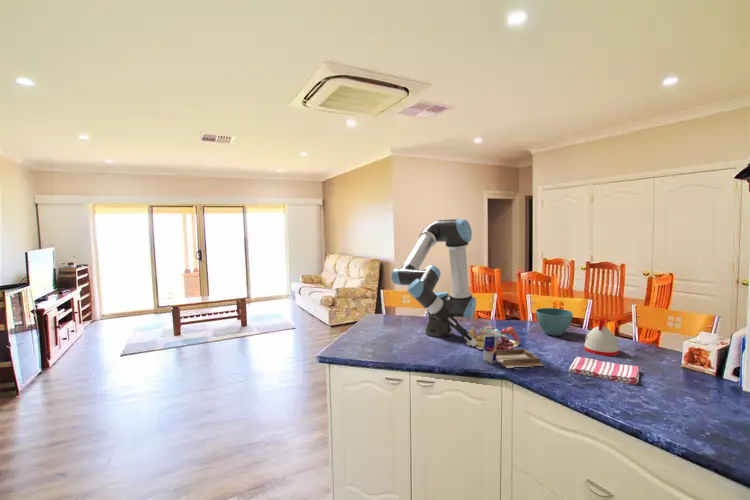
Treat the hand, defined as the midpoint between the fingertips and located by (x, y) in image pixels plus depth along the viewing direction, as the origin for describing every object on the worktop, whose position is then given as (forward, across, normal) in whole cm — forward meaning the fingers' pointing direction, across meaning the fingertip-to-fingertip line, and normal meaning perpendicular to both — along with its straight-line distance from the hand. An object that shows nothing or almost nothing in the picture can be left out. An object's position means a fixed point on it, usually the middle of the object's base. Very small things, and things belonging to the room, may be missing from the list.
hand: (475, 343), depth 162 cm
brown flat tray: (+19, 0, +7) cm, 20 cm away
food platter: (+19, -24, +6) cm, 31 cm away
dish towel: (+40, +18, +27) cm, 51 cm away
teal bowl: (+48, -35, +35) cm, 69 cm away
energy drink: (+11, 0, -1) cm, 11 cm away
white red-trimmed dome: (+51, -5, +39) cm, 65 cm away
